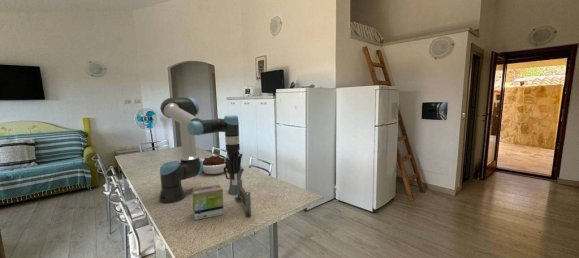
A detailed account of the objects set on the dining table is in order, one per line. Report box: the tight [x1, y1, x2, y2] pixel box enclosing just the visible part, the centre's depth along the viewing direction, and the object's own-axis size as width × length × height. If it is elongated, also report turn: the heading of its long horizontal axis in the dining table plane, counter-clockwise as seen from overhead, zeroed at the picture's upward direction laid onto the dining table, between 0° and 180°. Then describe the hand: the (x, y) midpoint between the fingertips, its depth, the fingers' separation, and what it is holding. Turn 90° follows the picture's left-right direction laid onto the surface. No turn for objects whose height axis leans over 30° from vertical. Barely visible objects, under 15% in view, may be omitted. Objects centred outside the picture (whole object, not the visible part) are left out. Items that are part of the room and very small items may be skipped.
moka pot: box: [223, 166, 245, 195], centre depth 168 cm, size 10×15×20 cm, turn 78°
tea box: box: [191, 184, 224, 221], centre depth 137 cm, size 15×10×15 cm
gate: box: [239, 184, 247, 207], centre depth 145 cm, size 2×18×9 cm, turn 22°
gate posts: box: [234, 179, 252, 218], centre depth 145 cm, size 6×27×13 cm, turn 22°
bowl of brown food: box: [202, 155, 227, 175], centre depth 213 cm, size 25×25×15 cm
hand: (234, 184), depth 139 cm, fingers closed
